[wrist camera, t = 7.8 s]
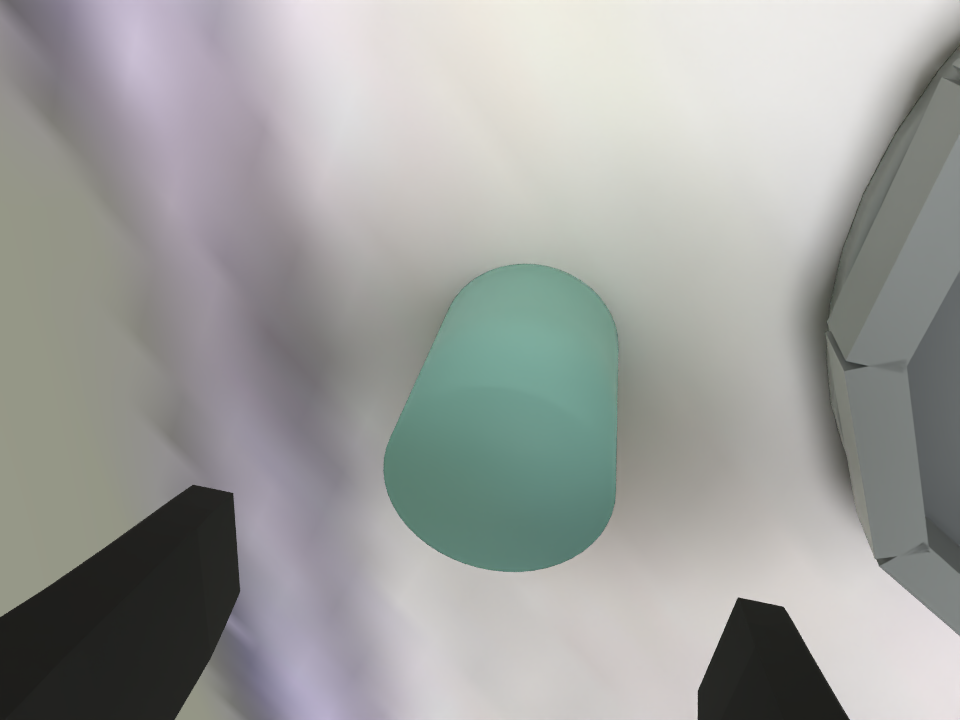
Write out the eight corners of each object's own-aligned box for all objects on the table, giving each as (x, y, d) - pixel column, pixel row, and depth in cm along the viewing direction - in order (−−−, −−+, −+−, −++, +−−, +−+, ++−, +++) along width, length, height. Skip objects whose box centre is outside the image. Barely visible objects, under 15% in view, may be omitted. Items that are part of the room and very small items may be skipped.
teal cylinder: (637, 399, 17) (642, 554, 13) (477, 432, 19) (433, 584, 14) (589, 242, 16) (576, 362, 11) (416, 290, 17) (346, 415, 13)
